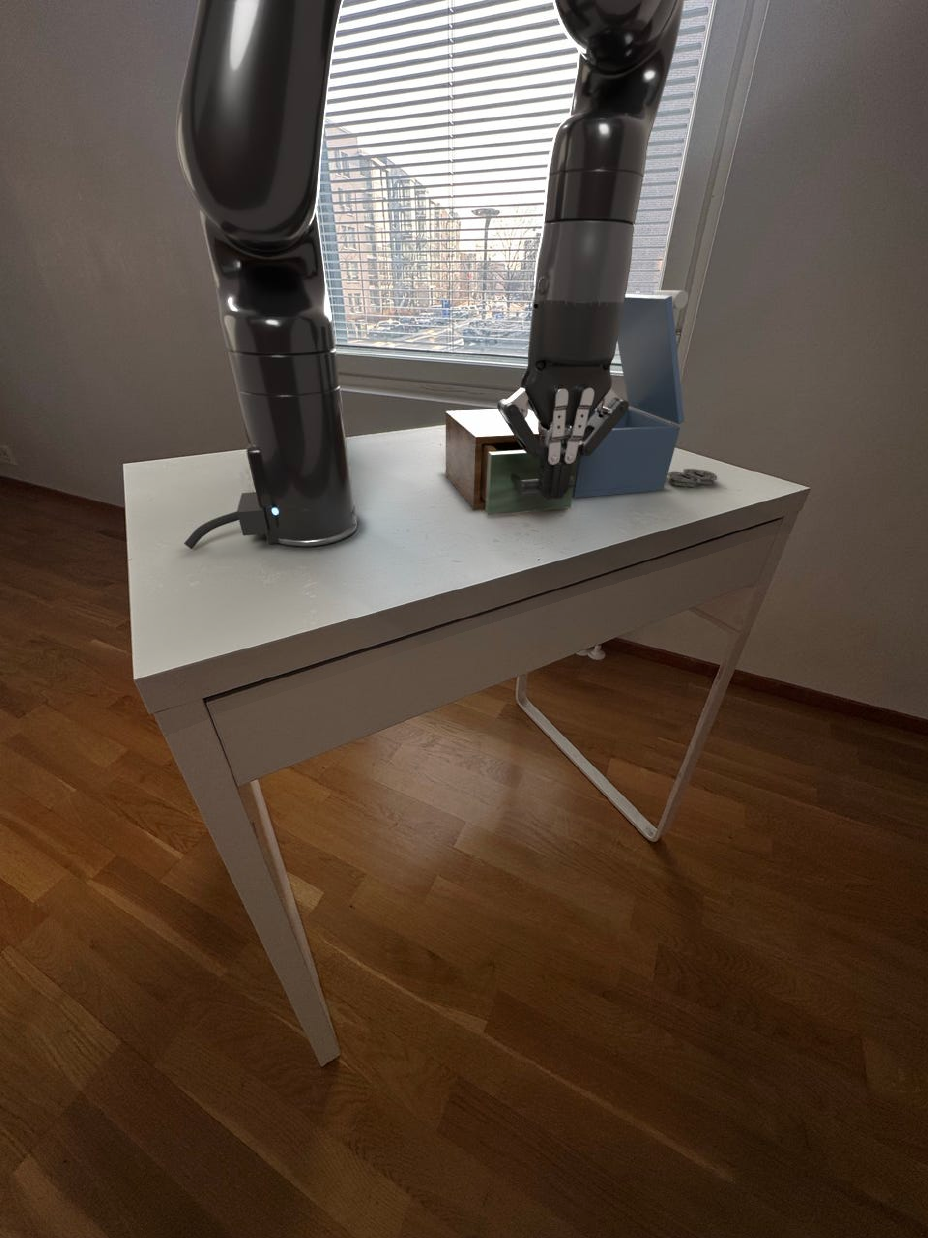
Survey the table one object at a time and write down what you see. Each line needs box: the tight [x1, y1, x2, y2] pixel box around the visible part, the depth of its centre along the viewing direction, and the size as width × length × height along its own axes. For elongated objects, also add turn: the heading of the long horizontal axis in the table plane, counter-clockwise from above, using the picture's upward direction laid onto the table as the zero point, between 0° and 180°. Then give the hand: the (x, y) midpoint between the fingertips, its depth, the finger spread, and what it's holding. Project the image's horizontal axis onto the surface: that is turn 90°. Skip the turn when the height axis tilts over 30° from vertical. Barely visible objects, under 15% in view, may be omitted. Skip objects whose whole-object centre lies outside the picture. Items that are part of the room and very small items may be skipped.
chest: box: [572, 407, 681, 499], centre depth 65 cm, size 14×12×8 cm
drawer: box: [480, 442, 579, 516], centre depth 57 cm, size 16×10×7 cm, turn 16°
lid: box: [617, 289, 689, 425], centre depth 60 cm, size 14×12×5 cm
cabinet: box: [445, 408, 540, 511], centre depth 62 cm, size 14×12×9 cm
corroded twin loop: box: [667, 468, 718, 488], centre depth 67 cm, size 5×8×1 cm, turn 117°
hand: (551, 497), depth 49 cm, fingers closed
